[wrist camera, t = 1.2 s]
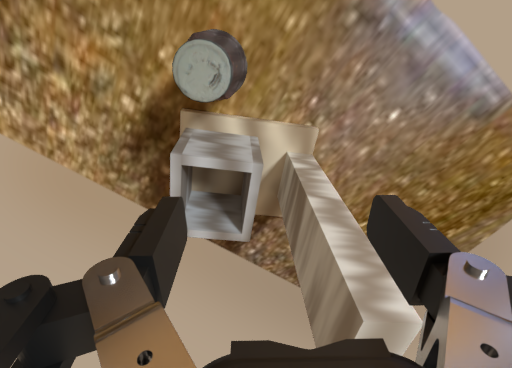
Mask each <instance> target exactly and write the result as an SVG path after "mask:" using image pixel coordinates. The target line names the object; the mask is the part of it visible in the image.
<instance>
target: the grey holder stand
mask: <svg viewBox="0 0 512 368" xmlns="http://www.w3.org/2000/svg"><path fill="white" fill-rule="evenodd" d="M318 131H319V129H318V128H317V127H314V126H307V125H300V124H293V123H285V122H278V121H271V120H263V119H256V118H249V117H242V116H234V115H227V114H220V113H213V112H205V111H198V110H191V109H184V108H182V109H181V111H180V138H179V140H178V142H177V143H176V145H175V147H174V148H173V150H172V152H171V153H170V197H180V196H181V197H182V198H183V201H184V208H185V215H186V222H187V237H193V238H206V239H219V240H232V241H244V242H250V237H251V232H252V226H253V221H254V215H266V216H277V217H283V221H284V225H285V229H286V233H287V236H288V240H289V244H290V248H291V252H292V256H293V260H294V264H295V268H296V271H297V275H298V279H299V283H300V287H301V291H302V295H303V299H304V303H305V307H306V310H307V314H308V318H309V322H310V326H311V330H312V334H313V338H314V341H315V345H316V348H318V347H322V346H325V345H328V344H331V343H334V342H338V341H341V340H344V339H368V338H383V339H384V342H385V344H386V346H387V348H388V350H389V352H392V353H395V354H398V355H400V356H402V355H403V354H404V352H405V351H406V349H407V348H408V346H409V345H410V344H411V342H412V341H413V339H414V338H415V336H416V335H417V333H418V332H419V330H420V329H421V328H422V324H423V322H422V320H421V319H420V317H419V316H418V314H417V312H416V311H415V309H414V308H413V306H412V305H411V306H409V304H408V303H407V301H406V299H405V298H404V296H403V295H402V293H401V291H400V290H399V288H398V286H397V285H396V283H395V282H394V280H393V278H392V277H391V275H390V274H389V272H388V270H387V269H386V267H385V265H384V264H383V262H382V261H381V259H380V257H379V256H378V254H377V253H376V251H375V249H374V248H373V246H372V244H371V243H370V241H369V240H368V238H367V237H366V235H365V234H364V232H363V231H362V229H361V228H360V226H359V225H358V223H357V222H356V220H355V219H354V217H353V216H352V214H351V213H350V211H349V210H348V208H347V207H346V205H345V204H344V202H343V201H342V199H341V197H340V196H339V194H338V193H337V191H336V190H335V188H334V187H333V185H332V184H331V182H330V181H329V179H328V178H327V176H326V175H325V173H324V172H323V170H322V169H321V167H320V166H319V164H318V163H317V161H316V160H315V158H314V157H313V155H312V154H313V150H314V146H315V143H316V139H317V135H318Z"/></svg>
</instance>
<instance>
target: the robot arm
mask: <svg viewBox="0 0 512 368" xmlns="http://www.w3.org/2000/svg"><path fill="white" fill-rule="evenodd" d="M367 236H368V239H369V241H370V243H371V244H372V246H373V248H374V249H375V251H376V253H377V254H378V256H379V257H380V259H381V261H382V262H383V264H384V265H385V267H386V269H387V270H388V272H389V274H390V275H391V277H392V278H393V280H394V282H395V283H396V285H397V286H398V288H399V290H400V291H401V293H402V295H403V296H404V298H405V299H406V301H407V303H408V304H409V306H411V305H424V306H425V307H426V309H427V310H426V312H425V315H424V318H423V324H422V329H421V334H420V340H419V345H418V351H417V357H416V361H415V362H414V361H412V360H410V359H408V358H405V357H403V356H400V355H398V354H395V353H392V352H389V350H388V348H387V346H386V344H385V342H384V339H383V338H368V339H344V340H341V341H338V342H334V343H331V344H328V345H325V346H322V347H318V348H315V349H311V350H308V349H302V348H298V347H294V346H290V345H286V344H282V343H277V342H273V341H268V340H267V341H231V354H229V355H226V356H223V357H221V358H219V359H216V360H214V361H212V362H211V363H209V364H207V365H206V366H204V367H203V368H512V276H507V275H505V273H504V272H503V271H502V270H501V269H500V268H499V267H498V266H496V265H495V264H494V263H492V262H491V261H489V260H487V259H485V258H483V257H480V256H478V255H475V254H470V253H465V252H461V251H459V250H458V249H457V248H456V247H455V246H454V245H453V244H452V243H451V242H450V241H449V240H448V239H447V238H446V237H445V236H444V235H443V234H442V233H441V232H440V231H439V230H437V228H436V227H435V226H434V225H433V224H432V223H430V222H429V221H428V220H427V219H426V218H425V217H424V216H423V215H422V214H421V213H419V212H418V211H416V210H414V209H412V208H411V207H407V206H406V205H405V203H404V202H403V201H402V200H401V199H400V198H399V197H398V196H396V195H376V196H375V197H374V199H373V202H372V207H371V211H370V215H369V219H368V224H367ZM186 241H187V222H186V215H185V208H184V201H183V198H182V197H181V196H180V197H162V199H161V200H160V202H159V204H158V205H157V207H156V209H148V210H147V211H146V212H144V213H143V214H142V215H141V216H140V217H139V218H138V220H137V221H136V222H135V224H134V226H133V227H132V229H131V230H130V233H128V235H127V236H126V238H125V239H124V241H123V242H122V244H121V245H120V247H119V248H118V250H117V251H116V253H115V255H114V256H113V258H109V259H106V260H103V261H101V262H99V263H97V264H95V265H94V266H93V267H91V268H90V269H89V270H88V271H87V272H86V274H85V275H84V277H83V279H80V280H77V281H73V282H68V283H65V284H60V285H56V286H52V284H51V282H50V280H49V279H48V278H47V277H45V276H43V275H30V276H26V277H23V278H20V279H17V280H15V281H13V282H10V283H8V284H7V285H5V286H3V287H2V288H0V368H10V367H11V365H12V364H13V363H14V364H13V365H12V367H11V368H71V366H72V364H73V362H74V360H75V358H76V357H77V356H80V355H83V354H86V353H89V352H92V351H95V350H97V353H98V357H99V360H100V364H101V368H196V366H195V364H194V362H193V361H192V359H191V357H190V355H189V353H188V351H187V350H186V348H185V346H184V344H183V343H182V341H181V339H180V337H179V335H178V333H177V332H176V330H175V328H174V326H173V325H172V323H171V321H170V319H169V317H168V316H167V314H166V312H165V310H164V308H165V306H166V303H167V300H168V297H169V294H170V291H171V288H172V285H173V282H174V278H175V275H176V272H177V269H178V266H179V263H180V260H181V257H182V254H183V251H184V248H185V244H186ZM16 358H17V359H16ZM15 360H16V361H15ZM14 361H15V362H14Z"/></svg>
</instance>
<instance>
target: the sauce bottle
mask: <svg viewBox="0 0 512 368" xmlns="http://www.w3.org/2000/svg"><path fill="white" fill-rule="evenodd" d="M172 66H173V76H174V80H175V82H176V84H177V86H178V87H179V89H180V90H181V91H182V93H183V94H184V95H186V96H187V97H188V98H190V99H192V100H194V101H198V102H212V101H215V100H223V99H228V98H230V97H231V96H232V95H233V94H234V93H235V92H236V91H237V90H238V89H239V88H240V87H241V86H242V84H243V83H244V80H245V78H246V74H247V60H246V55H245V52H244V50H243V48H242V47H241V45H240V43H239V42H238V41H237V40H236V39H235V38H234V37H233V36H232V35H230V34H229V33H227V32H225V31H222V30H217V29H211V30H206V31H202V32H197V33H193V34H192V35H191V37H190V38H189V39H188V41H187V42H186V43H184V44H183V45H182V46H181V47H180V48H179V49H178V51H177V52H176V54H175V57H174V60H173V63H172Z"/></svg>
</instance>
